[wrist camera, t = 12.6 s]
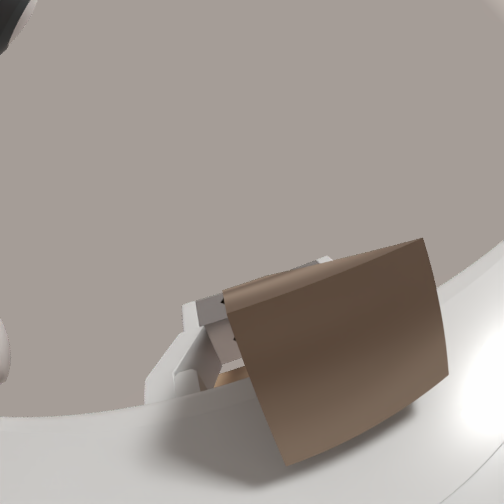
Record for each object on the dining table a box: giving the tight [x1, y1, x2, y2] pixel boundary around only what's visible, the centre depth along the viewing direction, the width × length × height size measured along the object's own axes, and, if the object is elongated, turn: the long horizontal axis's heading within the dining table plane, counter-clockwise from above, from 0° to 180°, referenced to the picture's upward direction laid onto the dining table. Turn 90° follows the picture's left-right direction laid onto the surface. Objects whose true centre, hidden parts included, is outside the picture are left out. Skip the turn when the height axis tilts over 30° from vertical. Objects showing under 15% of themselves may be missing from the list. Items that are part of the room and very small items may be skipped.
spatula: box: [223, 238, 449, 466], centre depth 13 cm, size 21×7×2 cm, turn 7°
